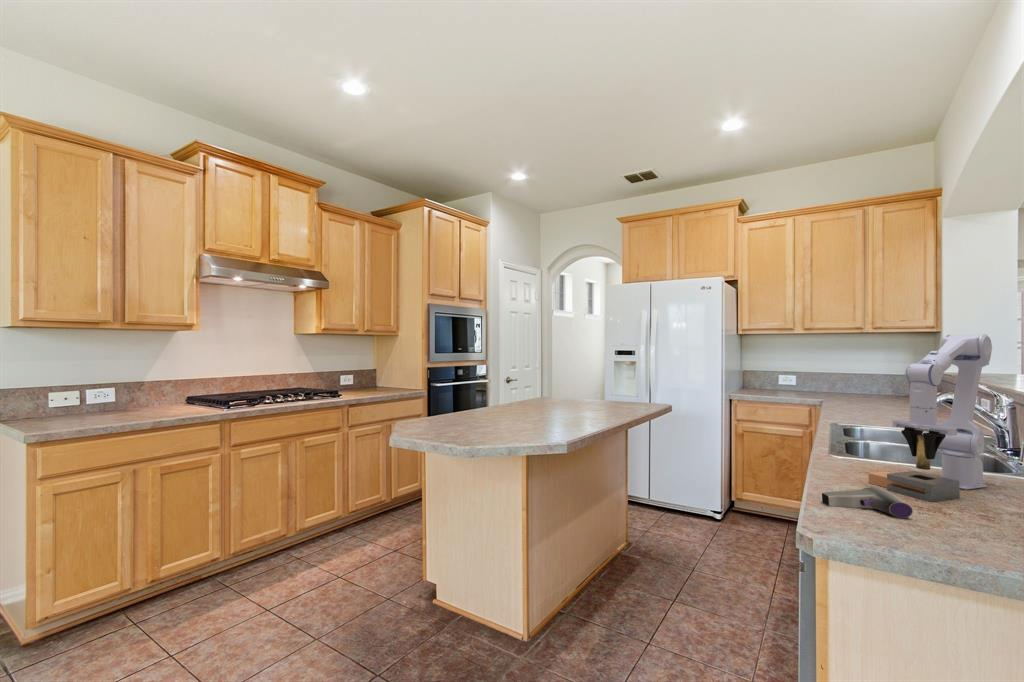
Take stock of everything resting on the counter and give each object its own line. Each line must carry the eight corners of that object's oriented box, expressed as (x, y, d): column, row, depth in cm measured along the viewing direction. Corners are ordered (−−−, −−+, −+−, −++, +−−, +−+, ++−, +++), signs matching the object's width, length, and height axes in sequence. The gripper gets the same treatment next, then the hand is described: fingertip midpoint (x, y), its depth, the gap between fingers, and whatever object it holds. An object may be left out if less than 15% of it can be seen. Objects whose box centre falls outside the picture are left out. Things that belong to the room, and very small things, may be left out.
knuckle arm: (885, 481, 145) (885, 471, 145) (946, 496, 131) (946, 485, 131) (868, 483, 143) (868, 473, 143) (928, 499, 128) (928, 488, 128)
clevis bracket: (913, 486, 140) (914, 470, 140) (959, 498, 129) (959, 481, 129) (886, 489, 136) (886, 473, 136) (931, 502, 126) (931, 484, 126)
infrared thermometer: (820, 505, 127) (881, 503, 125) (847, 522, 114) (916, 520, 113) (819, 487, 127) (880, 485, 125) (846, 503, 114) (915, 501, 113)
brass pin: (921, 466, 135) (921, 434, 135) (933, 469, 132) (933, 436, 132) (913, 467, 134) (913, 434, 134) (925, 470, 131) (925, 436, 131)
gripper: (885, 404, 139) (884, 452, 138) (944, 411, 125) (944, 464, 125) (902, 404, 141) (902, 451, 141) (962, 410, 127) (962, 462, 127)
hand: (923, 457), depth 133 cm, fingers closed on brass pin, 3 cm apart
